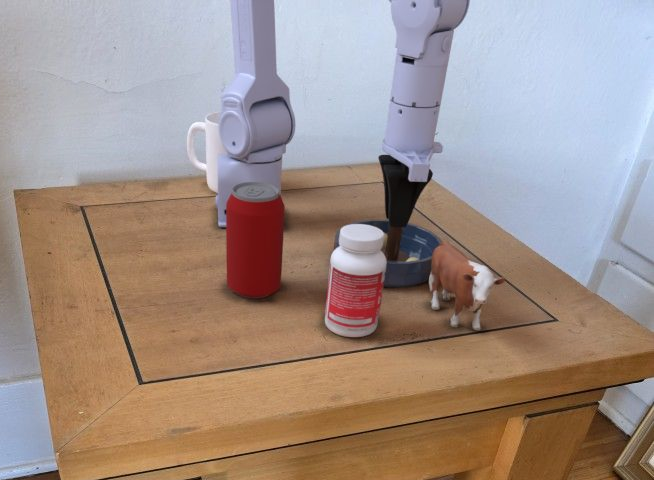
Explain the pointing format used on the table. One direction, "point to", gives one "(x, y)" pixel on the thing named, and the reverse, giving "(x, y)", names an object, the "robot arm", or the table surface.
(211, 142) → the cup
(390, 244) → the brown peg stand
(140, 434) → the table surface
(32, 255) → the table surface
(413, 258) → the bead
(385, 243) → the bead
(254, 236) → the beverage can
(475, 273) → the bull figurine
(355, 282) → the pill bottle
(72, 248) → the table surface
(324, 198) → the table surface
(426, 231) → the bowl
